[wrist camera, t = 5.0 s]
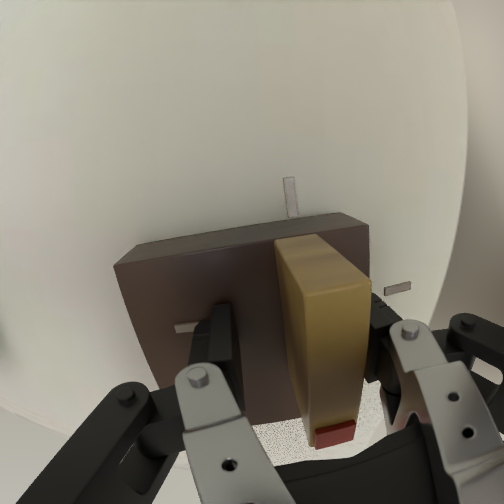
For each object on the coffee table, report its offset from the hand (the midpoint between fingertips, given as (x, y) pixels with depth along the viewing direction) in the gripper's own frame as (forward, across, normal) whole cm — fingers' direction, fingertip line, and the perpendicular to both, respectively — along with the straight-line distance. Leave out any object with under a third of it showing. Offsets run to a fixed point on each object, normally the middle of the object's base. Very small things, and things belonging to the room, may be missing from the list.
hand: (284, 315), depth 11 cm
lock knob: (0, -1, 0) cm, 1 cm away
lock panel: (+3, 0, +1) cm, 3 cm away
